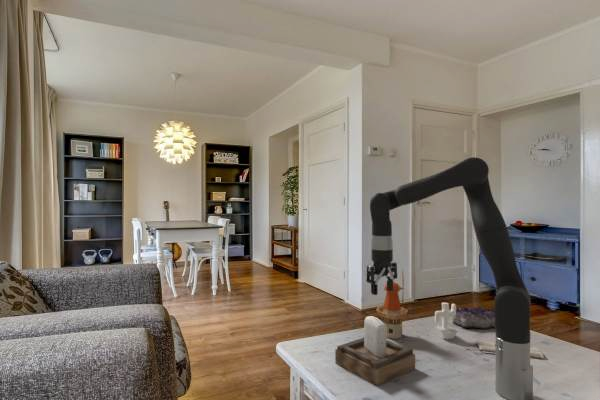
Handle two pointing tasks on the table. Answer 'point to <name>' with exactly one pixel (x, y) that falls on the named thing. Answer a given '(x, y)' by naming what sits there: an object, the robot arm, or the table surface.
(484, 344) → the newspaper
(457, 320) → the geode
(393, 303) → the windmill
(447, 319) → the figurine
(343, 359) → the walnut plinth
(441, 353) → the table surface
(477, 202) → the robot arm
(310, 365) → the table surface
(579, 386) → the table surface
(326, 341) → the table surface
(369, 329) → the photo printer
